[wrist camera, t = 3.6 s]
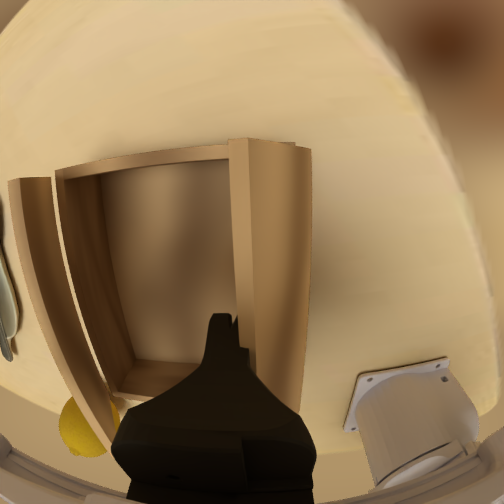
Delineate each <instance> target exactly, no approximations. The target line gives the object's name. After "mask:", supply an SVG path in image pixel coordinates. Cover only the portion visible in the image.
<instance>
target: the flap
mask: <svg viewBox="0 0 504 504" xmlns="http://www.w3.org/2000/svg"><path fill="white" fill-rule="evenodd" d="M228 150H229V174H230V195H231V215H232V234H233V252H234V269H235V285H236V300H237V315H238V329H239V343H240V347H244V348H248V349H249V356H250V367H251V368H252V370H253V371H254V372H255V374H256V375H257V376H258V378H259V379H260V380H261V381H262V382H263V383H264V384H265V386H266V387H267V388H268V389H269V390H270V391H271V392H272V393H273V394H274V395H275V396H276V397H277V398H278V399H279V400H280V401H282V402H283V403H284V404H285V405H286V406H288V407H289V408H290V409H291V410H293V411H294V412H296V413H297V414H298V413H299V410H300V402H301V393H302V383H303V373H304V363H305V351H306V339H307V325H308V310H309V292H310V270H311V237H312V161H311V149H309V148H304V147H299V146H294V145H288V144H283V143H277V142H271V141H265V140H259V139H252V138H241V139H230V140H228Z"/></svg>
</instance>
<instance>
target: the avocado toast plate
mask: <svg viewBox="0 0 504 504" xmlns="http://www.w3.org/2000/svg"><path fill="white" fill-rule="evenodd" d="M18 318H19V310H18V306H17V301H16V297H15V292H14V288H13V285H12V283H11V280H10V277H9V273H8V270H7V267H6V263H5V259H4V255H3V251H2V246H1V242H0V347H1V351H2V354H3V356H4V357H5V359H6V360H8V361H10V362H11V361H12V360H13V353H12V349H11V338H13V337H14V336H15V335H16V333H17V328H18Z"/></svg>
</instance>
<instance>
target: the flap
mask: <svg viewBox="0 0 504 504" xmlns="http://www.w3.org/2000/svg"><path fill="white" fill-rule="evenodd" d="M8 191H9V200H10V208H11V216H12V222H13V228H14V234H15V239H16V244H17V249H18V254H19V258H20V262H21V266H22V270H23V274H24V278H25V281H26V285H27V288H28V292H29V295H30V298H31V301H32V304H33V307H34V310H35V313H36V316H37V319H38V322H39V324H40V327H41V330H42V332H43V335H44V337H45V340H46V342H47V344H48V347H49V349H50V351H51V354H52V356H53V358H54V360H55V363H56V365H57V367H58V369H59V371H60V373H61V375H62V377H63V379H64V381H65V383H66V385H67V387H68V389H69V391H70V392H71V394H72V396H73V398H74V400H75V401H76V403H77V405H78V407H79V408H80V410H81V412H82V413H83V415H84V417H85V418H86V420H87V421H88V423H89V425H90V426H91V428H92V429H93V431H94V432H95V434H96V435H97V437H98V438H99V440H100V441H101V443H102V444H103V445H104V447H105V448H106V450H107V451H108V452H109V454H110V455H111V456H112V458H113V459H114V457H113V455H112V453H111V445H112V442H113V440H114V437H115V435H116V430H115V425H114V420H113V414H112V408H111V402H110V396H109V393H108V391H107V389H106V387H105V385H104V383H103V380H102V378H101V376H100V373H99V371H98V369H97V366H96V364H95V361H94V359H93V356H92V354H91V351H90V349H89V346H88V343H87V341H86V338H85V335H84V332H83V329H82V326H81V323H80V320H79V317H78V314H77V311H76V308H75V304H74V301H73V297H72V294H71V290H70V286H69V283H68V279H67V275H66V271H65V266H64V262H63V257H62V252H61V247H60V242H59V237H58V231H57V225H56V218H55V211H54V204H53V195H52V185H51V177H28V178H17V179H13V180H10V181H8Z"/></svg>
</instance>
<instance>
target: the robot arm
mask: <svg viewBox="0 0 504 504" xmlns="http://www.w3.org/2000/svg"><path fill="white" fill-rule="evenodd" d="M449 363H450V360H449V358H442V359H438V360H434V361H430V362H425V363H421V364H416V365H411V366H406V367H401V368H396V369H390V370H384V371H378V372H372V373H365V374H361V375H360V376H359V377H358V379H357V383H356V386H355V390H354V394H353V397H352V401H351V404H350V408H349V411H348V414H347V418H346V421H345V424H344V427H343V430H344V432H353V431H359V432H360V435H361V438H362V442H363V445H364V448H365V452H366V455H367V459H368V462H369V466H370V469H371V473H372V477H373V481H374V484H375V488H373V489H371V490H369V491H368V494H365V495H361V496H356V497H352V498H347V499H343V500H337V501H332V502H326V503H320V504H504V427H502V428H500V429H499V430H497V431H496V432H494V433H492V434H491V435H490V436H488V437H487V438H486V439H485V440H484V441H483V442H482V443H480V442H475V441H476V439H477V436H478V432H479V419H478V414H477V411H476V408H475V406H474V404H473V403H472V401H471V400H470V398H469V397H468V396H467V394H466V393H465V391H464V390H463V388H462V387H461V386H460V384H459V383H458V381H457V380H456V379H455V377H454V376H453V374H452V373H451V372H450V370H449V369H448V365H449ZM368 378H370V379H368ZM111 453H112V455H113V457H114V459H115V460H116V461H117V463H118V464H119V465H120V466H121V468H122V469H123V470H124V471H125V472H126V474H127V475H128V476H129V477H130V478H131V483H130V486H129V490H128V493H123V492H118V491H115V490H112V489H109V488H105V487H102V486H99V485H96V484H93V483H90V482H87V481H84V480H82V479H79V478H76V477H74V476H71V475H69V474H67V473H64V472H62V471H60V470H57V469H55V468H53V467H51V466H48V465H46V464H44V463H42V462H40V461H38V460H36V459H34V458H32V457H30V456H28V455H26V454H25V453H23V452H21V451H19V450H17V449H16V448H14V447H12V445H11V444H10V442H9V441H8V440H7V439H6V438H5V437H4V436H3V435H2V434H1V433H0V497H1V498H2V499H4V500H5V501H6V502H8V503H9V504H314V499H313V492H312V489H313V479H312V472H313V469H314V465H315V462H316V457H317V454H316V449H315V445H314V443H313V440H312V438H311V435H310V433H309V431H308V429H307V427H306V426H305V424H304V422H303V420H302V418H301V417H300V415H298V414H297V413H296V412H294V411H293V410H291V409H290V408H289V407H288V406H286V405H285V404H284V403H283V402H282V401H280V400H279V399H278V398H277V397H276V396H275V395H274V394H273V393H272V392H271V391H270V390H269V389H268V388H267V387H266V386H265V384H264V383H263V382H262V381H261V380H260V379H259V378H258V376H257V375H256V374H255V372H254V371H253V370H252V368H251V367H250V356H249V349H248V348H244V347H240V343H239V329H238V315H237V316H236V318H235V320H234V322H233V323H232V315H231V314H229V313H213V315H212V316H211V318H210V320H209V325H208V331H207V338H206V345H205V351H204V356H203V359H202V362H201V364H200V366H199V367H198V368H197V369H196V370H194V371H193V372H192V373H191V374H190V375H188V376H187V377H186V378H185V379H183V380H182V381H181V382H179V383H178V384H176V385H175V386H173V387H172V388H170V389H169V390H167V391H165V392H164V393H162V394H160V395H158V396H156V397H154V398H153V399H150V400H148V401H146V402H144V403H142V404H139V405H137V406H135V407H132V408H130V409H128V411H127V413H126V414H125V416H124V418H123V419H122V421H121V423H120V425H119V428H118V430H117V432H116V435H115V437H114V440H113V442H112V445H111Z"/></svg>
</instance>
